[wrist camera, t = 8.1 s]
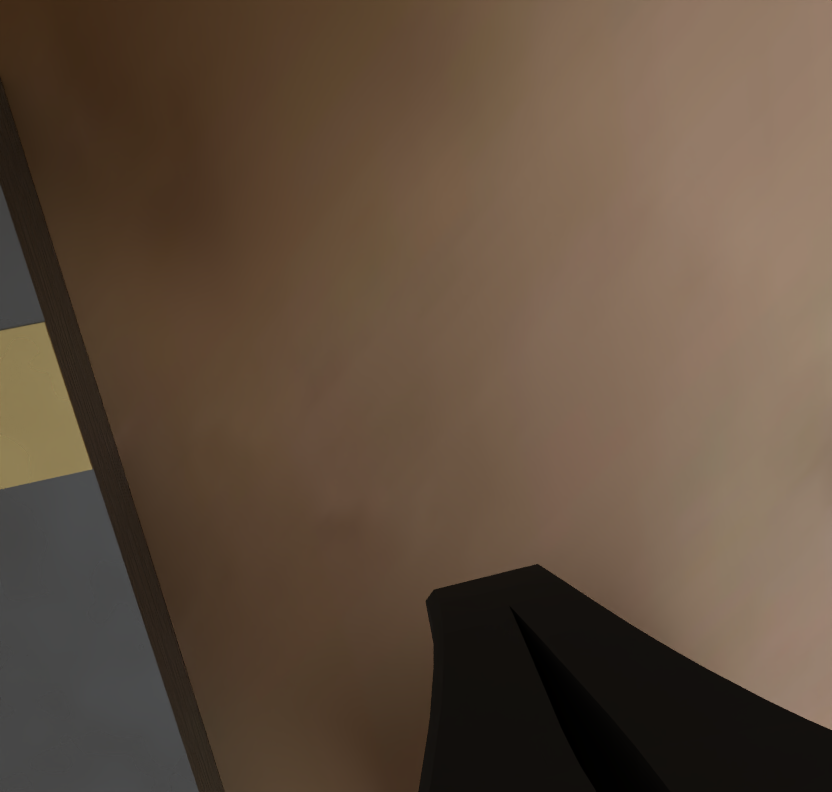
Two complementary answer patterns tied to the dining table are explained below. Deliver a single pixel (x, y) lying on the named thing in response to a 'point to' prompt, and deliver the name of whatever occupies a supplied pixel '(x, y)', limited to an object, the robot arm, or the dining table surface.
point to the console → (74, 553)
